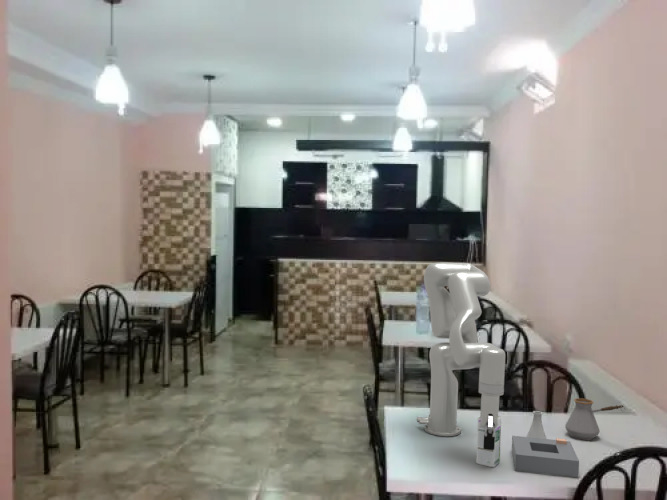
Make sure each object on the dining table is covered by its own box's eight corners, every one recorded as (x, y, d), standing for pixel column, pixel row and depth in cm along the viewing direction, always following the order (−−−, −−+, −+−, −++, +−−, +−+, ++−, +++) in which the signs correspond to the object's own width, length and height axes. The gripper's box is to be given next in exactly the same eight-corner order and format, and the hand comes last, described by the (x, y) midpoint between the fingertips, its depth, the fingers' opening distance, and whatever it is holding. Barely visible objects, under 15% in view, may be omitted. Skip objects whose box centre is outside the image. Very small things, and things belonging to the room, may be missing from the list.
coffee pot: (557, 433, 231) (560, 392, 230) (578, 429, 237) (580, 389, 236) (611, 452, 213) (613, 408, 212) (632, 447, 219) (634, 403, 218)
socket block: (515, 470, 194) (516, 451, 193) (511, 450, 211) (512, 432, 211) (578, 477, 190) (579, 457, 190) (569, 456, 207) (570, 438, 207)
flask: (548, 445, 218) (550, 416, 217) (526, 443, 219) (527, 414, 219) (546, 438, 225) (547, 410, 224) (524, 436, 226) (525, 408, 226)
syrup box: (494, 468, 195) (496, 420, 195) (475, 463, 198) (477, 417, 198) (499, 462, 200) (502, 416, 199) (481, 458, 203) (483, 412, 203)
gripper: (478, 380, 208) (475, 434, 208) (479, 394, 191) (476, 453, 191) (502, 382, 206) (499, 437, 207) (505, 396, 189) (502, 456, 190)
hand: (488, 444), depth 199 cm, fingers closed on syrup box, 7 cm apart
